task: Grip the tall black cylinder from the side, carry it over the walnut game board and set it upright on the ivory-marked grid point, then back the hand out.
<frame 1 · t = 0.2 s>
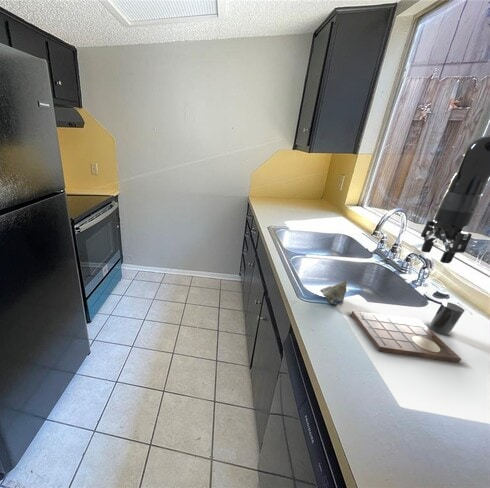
hand: (434, 257, 83), 20 cm above the worktop, tool pointing down, fingers open, 8 cm apart
black cylinder: (438, 329, 82), on the worktop
rock: (329, 300, 94), on the worktop
board: (398, 335, 78), on the worktop
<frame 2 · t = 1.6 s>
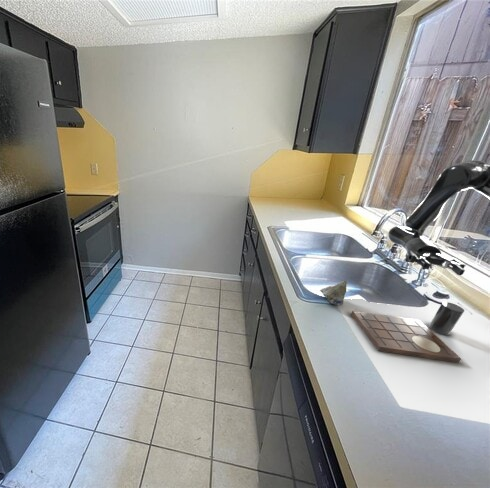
hand: (444, 269, 84), 16 cm above the worktop, tool horizontal, fingers open, 8 cm apart
nothing on the worktop moved.
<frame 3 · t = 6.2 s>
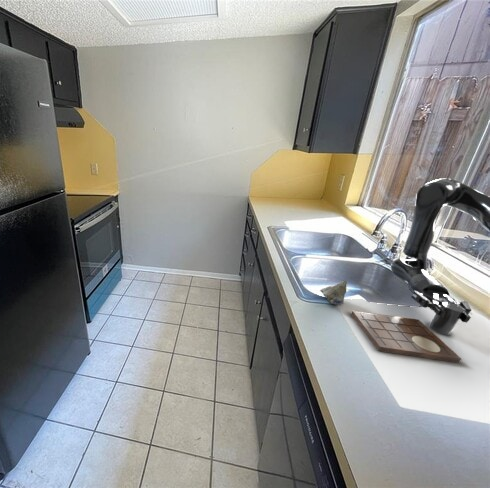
hand: (454, 317, 77), 7 cm above the worktop, tool horizontal, fingers closed on black cylinder, 5 cm apart
black cylinder: (439, 329, 82), on the worktop, touching gripper
everything else where it was.
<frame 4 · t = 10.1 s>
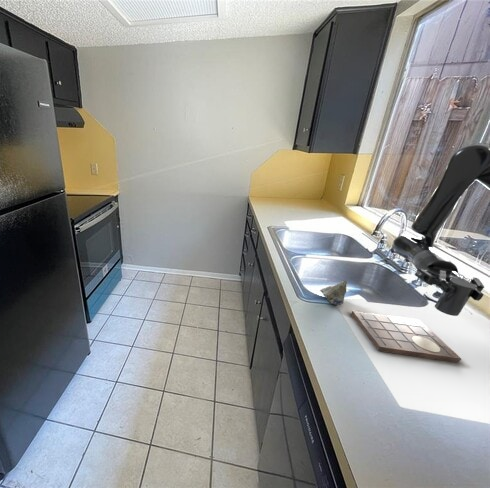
hand: (465, 294, 66), 19 cm above the worktop, tool horizontal, fingers closed on black cylinder, 5 cm apart
black cylinder: (446, 310, 72), point 12 cm above the worktop, touching gripper
everything else where it was.
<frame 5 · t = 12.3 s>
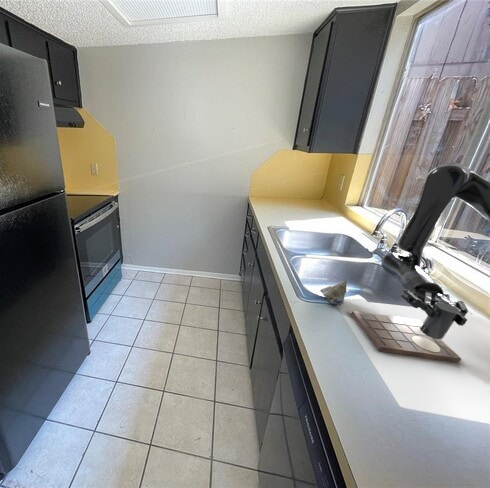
hand: (449, 319, 67), 12 cm above the worktop, tool horizontal, fingers closed on black cylinder, 5 cm apart
black cylinder: (431, 333, 72), point 5 cm above the worktop, touching gripper
everything else where it was.
when the fingers open (9 cm above the worktop, at t = 13.8 s): black cylinder stays where it is, resting on board.
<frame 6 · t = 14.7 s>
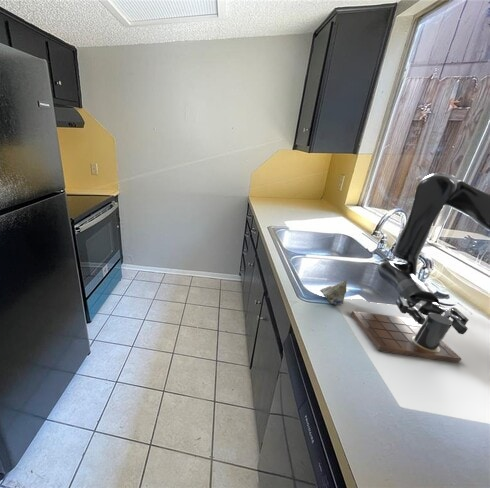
hand: (442, 326, 69), 9 cm above the worktop, tool horizontal, fingers open, 8 cm apart
black cylinder: (425, 343, 74), point 2 cm above the worktop, touching board
everything else where it was.
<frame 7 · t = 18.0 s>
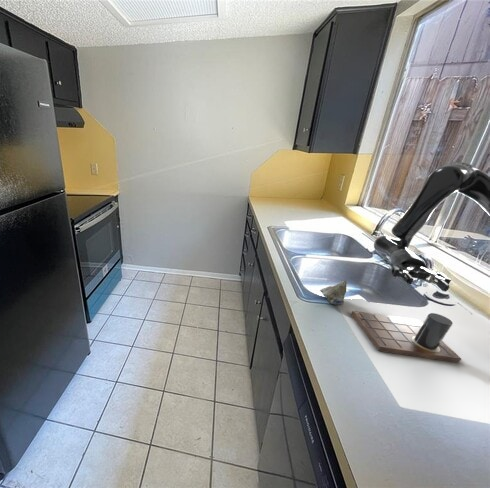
hand: (428, 285, 79), 14 cm above the worktop, tool horizontal, fingers open, 8 cm apart
nothing on the worktop moved.
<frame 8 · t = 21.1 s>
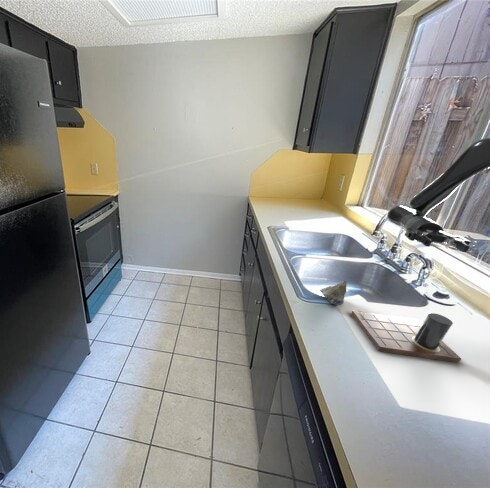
hand: (447, 246, 77), 26 cm above the worktop, tool horizontal, fingers open, 8 cm apart
nothing on the worktop moved.
at the end: black cylinder 0.1 cm from the target spot on the board, point 1.6 cm above the board's base; black cylinder tilted 0°; the gripper is holding nothing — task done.
